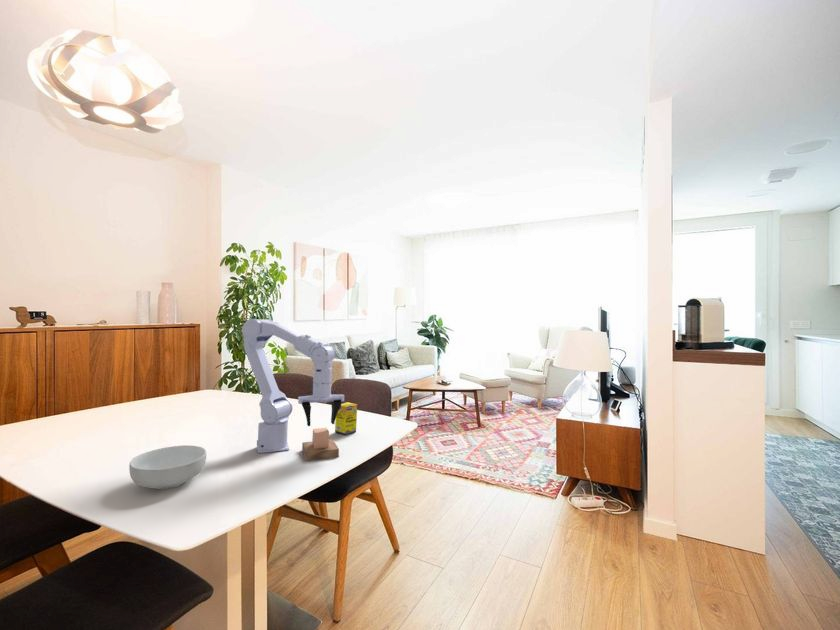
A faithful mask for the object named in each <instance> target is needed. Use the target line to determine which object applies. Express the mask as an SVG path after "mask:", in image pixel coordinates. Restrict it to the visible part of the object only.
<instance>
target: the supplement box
mask: <svg viewBox="0 0 840 630" xmlns="http://www.w3.org/2000/svg"><path fill="white" fill-rule="evenodd" d="M341 403H342V402H341ZM357 413H358V404H357V403H352V402H347V401H346V402H343V403H342V405H341V407H340V409H339V411H338V413H337V415H336V419H335V423H334V427H335V428H334V433H336V434H339V433H340V434H339V435H342V434H343V436H347V435H351V434H353V433H357V417H358V414H357Z"/></svg>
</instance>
